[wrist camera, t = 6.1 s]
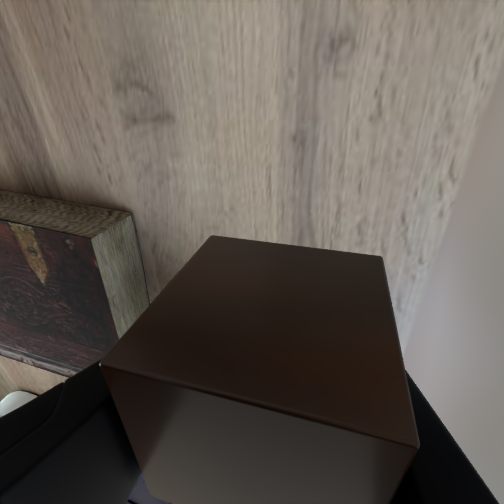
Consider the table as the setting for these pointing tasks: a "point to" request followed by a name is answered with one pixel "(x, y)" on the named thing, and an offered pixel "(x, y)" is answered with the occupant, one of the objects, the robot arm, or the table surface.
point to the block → (267, 380)
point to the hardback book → (66, 281)
